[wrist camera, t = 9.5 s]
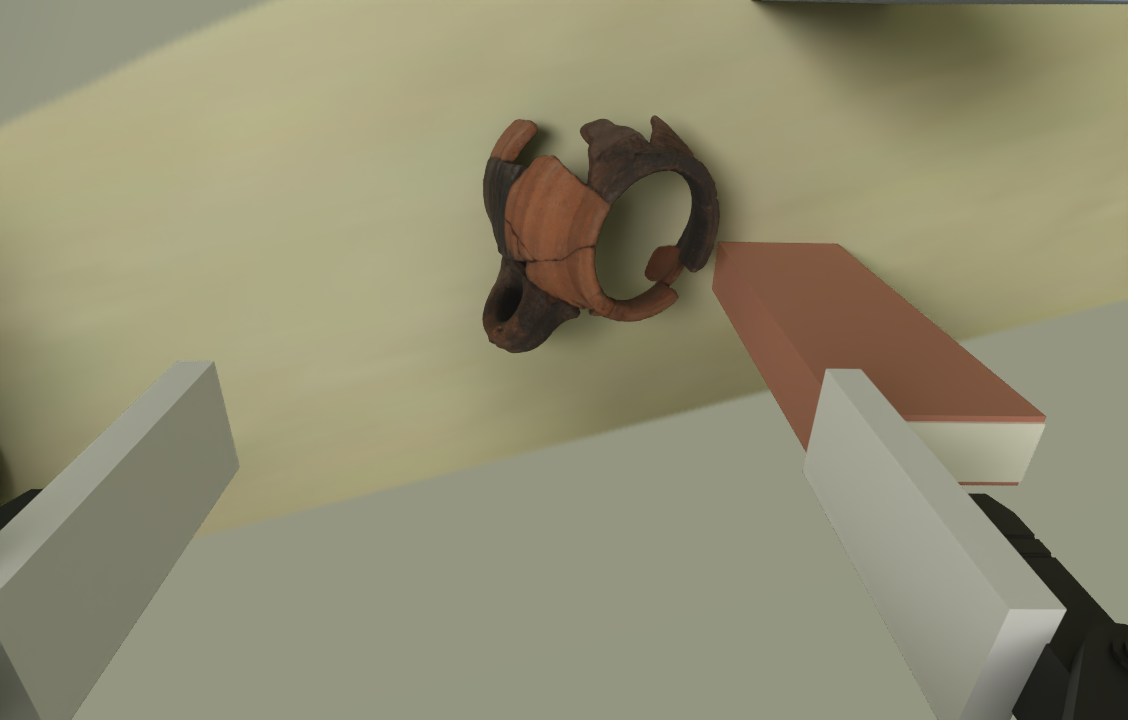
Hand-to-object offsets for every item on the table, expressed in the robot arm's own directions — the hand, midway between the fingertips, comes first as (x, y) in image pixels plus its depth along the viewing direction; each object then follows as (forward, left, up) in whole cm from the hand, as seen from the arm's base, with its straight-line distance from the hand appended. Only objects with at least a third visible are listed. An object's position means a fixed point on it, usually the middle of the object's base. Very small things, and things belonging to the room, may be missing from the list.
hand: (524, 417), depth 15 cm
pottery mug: (0, -1, -21) cm, 21 cm away
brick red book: (+12, -3, -20) cm, 23 cm away
